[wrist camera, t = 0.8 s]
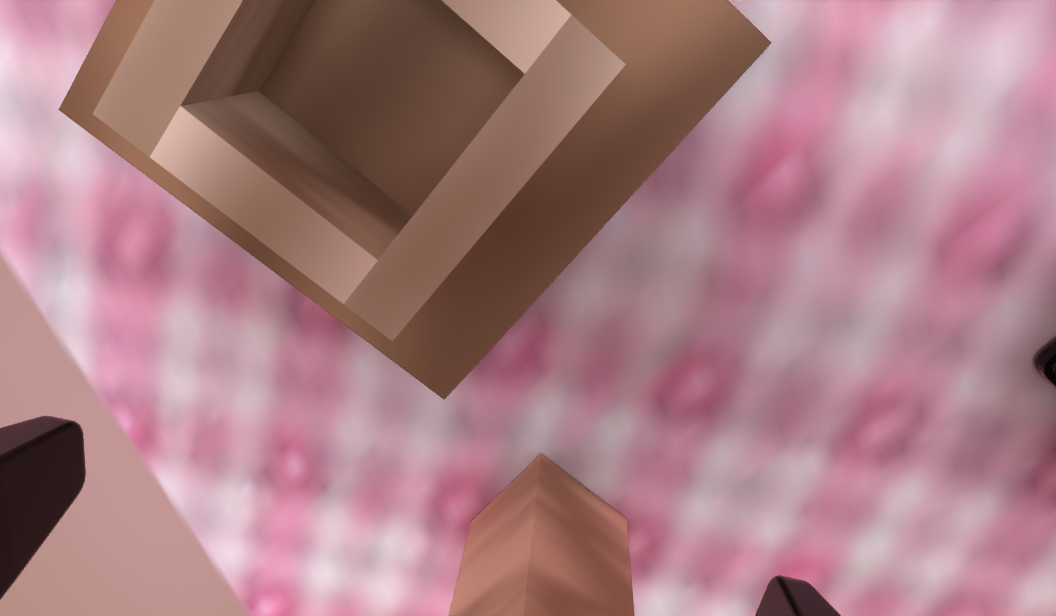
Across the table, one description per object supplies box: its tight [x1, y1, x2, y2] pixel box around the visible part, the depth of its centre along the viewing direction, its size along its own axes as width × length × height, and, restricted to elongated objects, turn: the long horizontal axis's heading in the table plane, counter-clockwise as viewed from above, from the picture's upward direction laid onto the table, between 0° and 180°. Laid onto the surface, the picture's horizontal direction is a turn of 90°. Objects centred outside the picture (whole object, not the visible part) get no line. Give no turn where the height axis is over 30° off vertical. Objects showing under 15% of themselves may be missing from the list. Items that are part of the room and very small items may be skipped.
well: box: [59, 0, 771, 400], centre depth 18 cm, size 14×14×5 cm
